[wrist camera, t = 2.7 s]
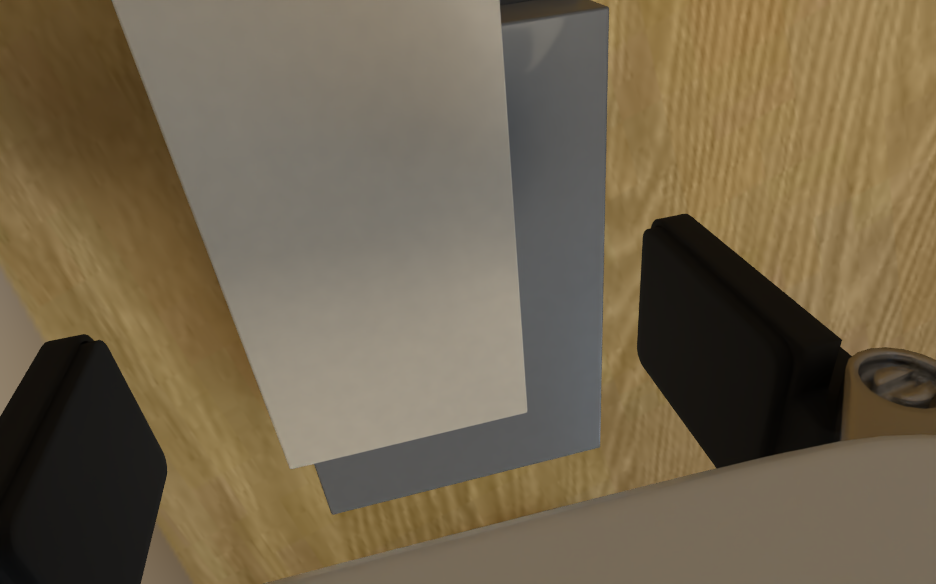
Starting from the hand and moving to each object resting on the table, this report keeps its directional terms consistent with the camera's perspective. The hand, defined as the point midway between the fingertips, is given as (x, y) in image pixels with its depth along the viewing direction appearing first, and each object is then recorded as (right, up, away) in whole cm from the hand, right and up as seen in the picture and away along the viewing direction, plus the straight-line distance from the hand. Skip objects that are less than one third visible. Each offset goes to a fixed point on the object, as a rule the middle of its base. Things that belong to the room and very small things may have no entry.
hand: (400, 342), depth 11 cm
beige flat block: (-1, +3, +4) cm, 6 cm away
